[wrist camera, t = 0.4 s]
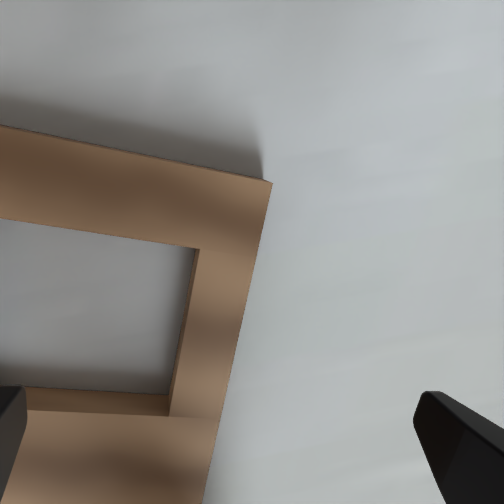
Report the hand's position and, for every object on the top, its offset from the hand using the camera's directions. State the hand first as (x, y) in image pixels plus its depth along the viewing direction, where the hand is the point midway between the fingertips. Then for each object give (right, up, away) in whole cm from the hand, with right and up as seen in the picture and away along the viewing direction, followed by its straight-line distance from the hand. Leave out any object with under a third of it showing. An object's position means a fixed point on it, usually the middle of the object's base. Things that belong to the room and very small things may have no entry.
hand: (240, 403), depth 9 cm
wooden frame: (-9, -2, +14) cm, 16 cm away
